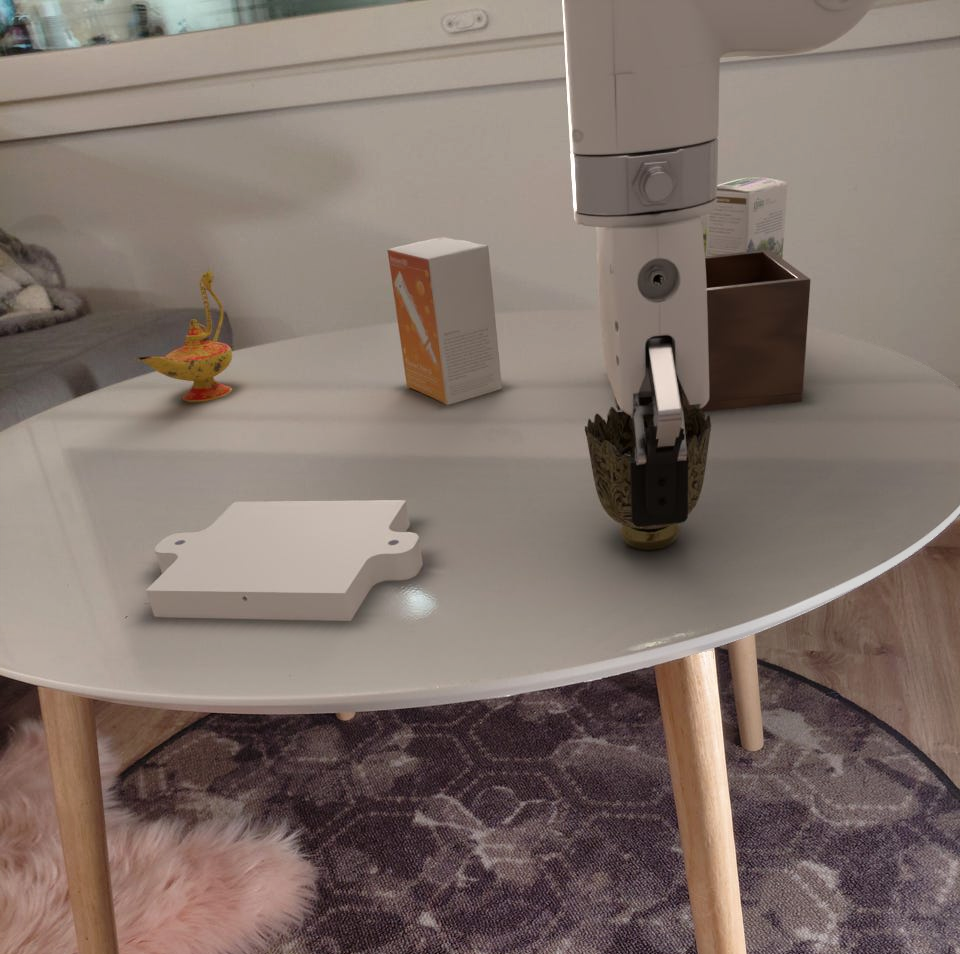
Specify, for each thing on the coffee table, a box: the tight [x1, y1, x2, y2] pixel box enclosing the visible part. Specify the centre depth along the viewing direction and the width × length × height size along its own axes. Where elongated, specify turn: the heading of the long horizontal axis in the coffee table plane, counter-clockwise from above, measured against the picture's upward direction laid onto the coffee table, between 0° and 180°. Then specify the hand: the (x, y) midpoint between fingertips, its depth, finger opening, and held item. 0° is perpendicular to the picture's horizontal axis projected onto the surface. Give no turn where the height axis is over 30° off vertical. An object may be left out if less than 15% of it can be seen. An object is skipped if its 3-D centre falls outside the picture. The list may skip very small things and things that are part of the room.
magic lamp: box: [133, 269, 233, 403], centre depth 97 cm, size 7×18×11 cm, turn 167°
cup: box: [584, 402, 712, 551], centre depth 60 cm, size 8×7×8 cm
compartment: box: [682, 249, 812, 413], centre depth 84 cm, size 14×13×10 cm
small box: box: [387, 236, 503, 406], centre depth 90 cm, size 8×6×13 cm
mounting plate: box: [145, 499, 424, 622], centre depth 64 cm, size 18×13×2 cm
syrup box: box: [701, 177, 788, 259], centre depth 93 cm, size 6×6×14 cm
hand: (649, 493), depth 60 cm, fingers closed on cup, 7 cm apart
